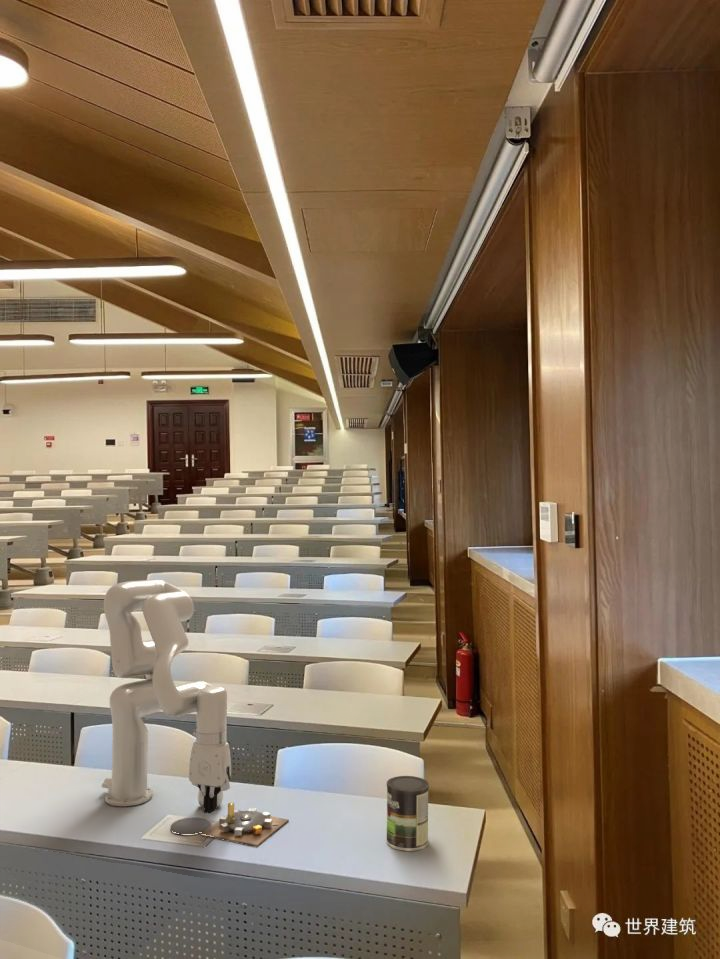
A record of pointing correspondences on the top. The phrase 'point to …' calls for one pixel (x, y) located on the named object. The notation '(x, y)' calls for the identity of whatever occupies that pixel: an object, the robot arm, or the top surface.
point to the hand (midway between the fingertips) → (210, 811)
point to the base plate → (248, 837)
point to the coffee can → (407, 813)
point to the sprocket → (244, 821)
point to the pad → (190, 825)
